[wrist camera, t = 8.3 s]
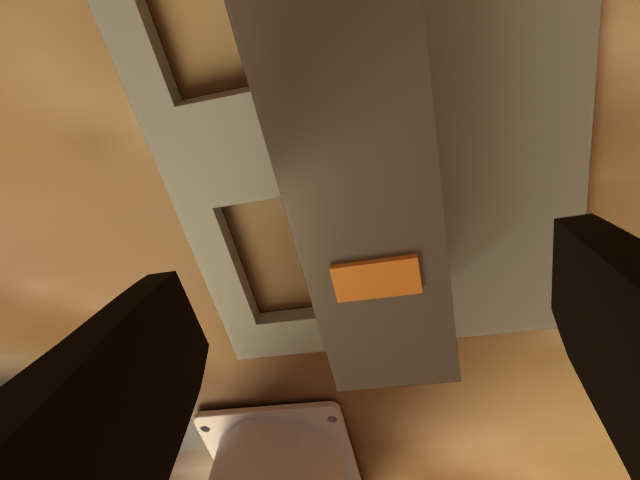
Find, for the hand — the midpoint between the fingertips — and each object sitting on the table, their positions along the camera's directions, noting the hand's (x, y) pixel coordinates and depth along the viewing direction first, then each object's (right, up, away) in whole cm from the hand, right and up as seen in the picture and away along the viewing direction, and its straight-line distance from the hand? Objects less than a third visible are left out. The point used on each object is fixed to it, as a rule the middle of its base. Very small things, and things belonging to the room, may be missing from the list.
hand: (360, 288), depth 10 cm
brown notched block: (+1, +5, +8) cm, 9 cm away
